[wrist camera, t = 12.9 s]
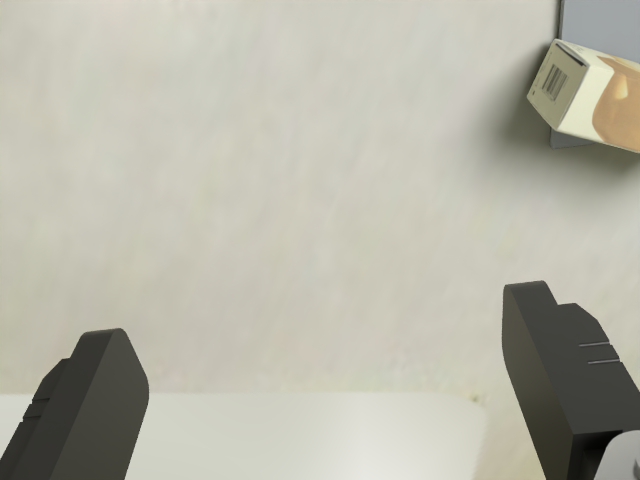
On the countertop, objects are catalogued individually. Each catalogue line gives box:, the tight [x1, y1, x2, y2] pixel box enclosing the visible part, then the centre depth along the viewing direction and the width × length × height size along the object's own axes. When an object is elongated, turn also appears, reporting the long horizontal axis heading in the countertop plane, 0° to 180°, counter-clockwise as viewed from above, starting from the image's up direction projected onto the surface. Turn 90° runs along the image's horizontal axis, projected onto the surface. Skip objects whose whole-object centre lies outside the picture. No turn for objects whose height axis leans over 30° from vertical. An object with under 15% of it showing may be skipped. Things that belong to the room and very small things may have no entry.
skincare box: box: [527, 39, 640, 154], centre depth 37 cm, size 6×4×12 cm
